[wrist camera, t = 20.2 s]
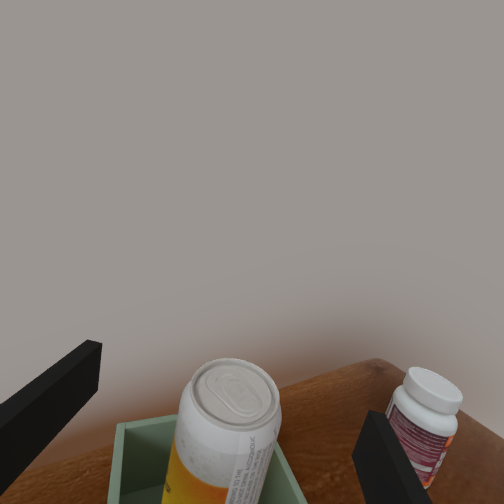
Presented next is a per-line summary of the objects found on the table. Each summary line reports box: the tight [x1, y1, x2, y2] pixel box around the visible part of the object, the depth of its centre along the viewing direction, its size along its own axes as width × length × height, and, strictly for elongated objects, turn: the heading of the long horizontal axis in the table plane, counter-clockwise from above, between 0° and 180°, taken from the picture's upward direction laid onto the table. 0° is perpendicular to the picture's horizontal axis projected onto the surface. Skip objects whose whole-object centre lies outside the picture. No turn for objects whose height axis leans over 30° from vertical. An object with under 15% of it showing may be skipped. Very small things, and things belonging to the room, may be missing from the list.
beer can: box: [161, 358, 282, 504], centre depth 16 cm, size 6×6×15 cm
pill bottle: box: [385, 367, 463, 489], centre depth 29 cm, size 6×6×11 cm
